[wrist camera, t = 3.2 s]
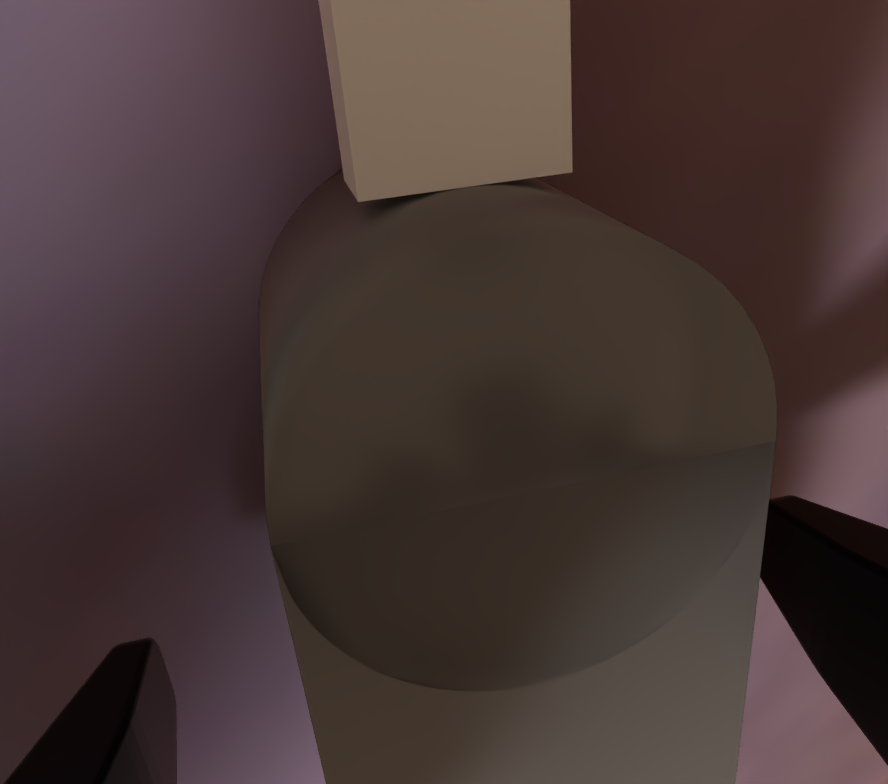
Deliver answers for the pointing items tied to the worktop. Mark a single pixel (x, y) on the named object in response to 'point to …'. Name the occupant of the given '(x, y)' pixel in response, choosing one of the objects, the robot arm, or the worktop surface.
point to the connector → (503, 433)
